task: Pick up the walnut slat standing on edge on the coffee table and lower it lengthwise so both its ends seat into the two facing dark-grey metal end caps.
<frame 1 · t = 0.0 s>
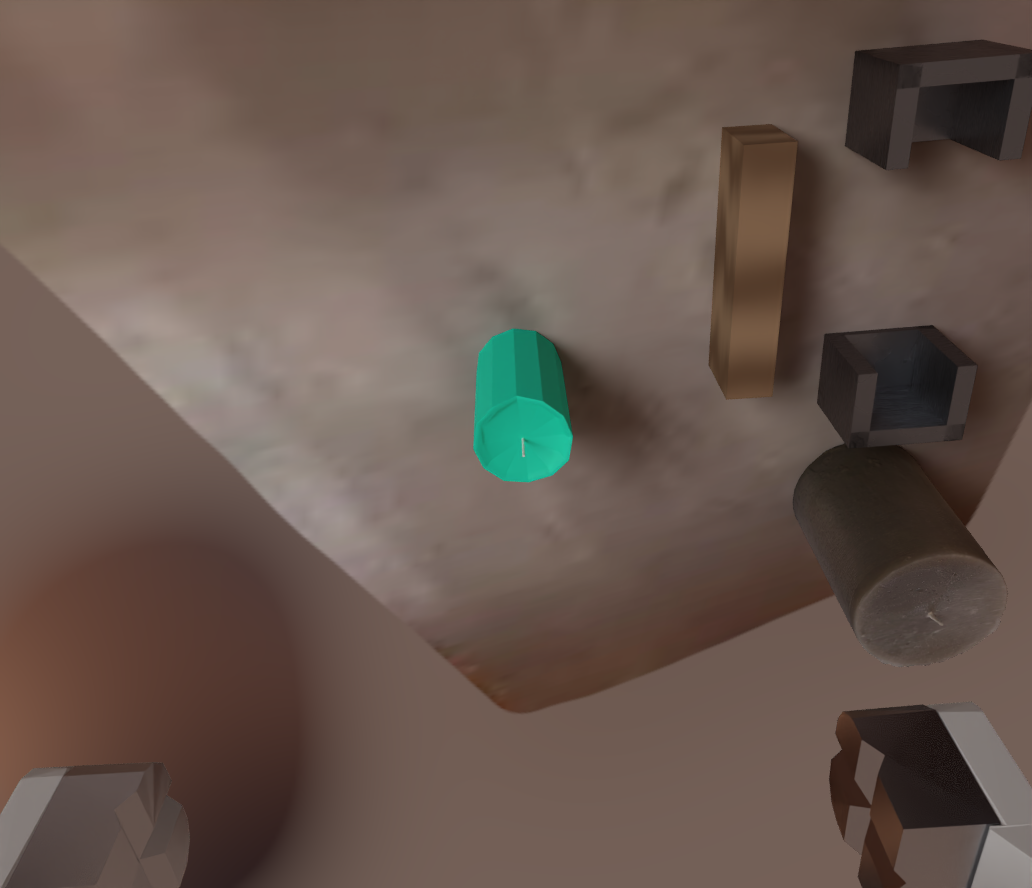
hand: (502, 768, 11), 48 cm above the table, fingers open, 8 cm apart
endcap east: (873, 365, 61), on the table
candle: (518, 366, 61), on the table
pillar candle: (853, 492, 67), on the table
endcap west: (911, 94, 52), on the table
slat: (737, 252, 57), on the table
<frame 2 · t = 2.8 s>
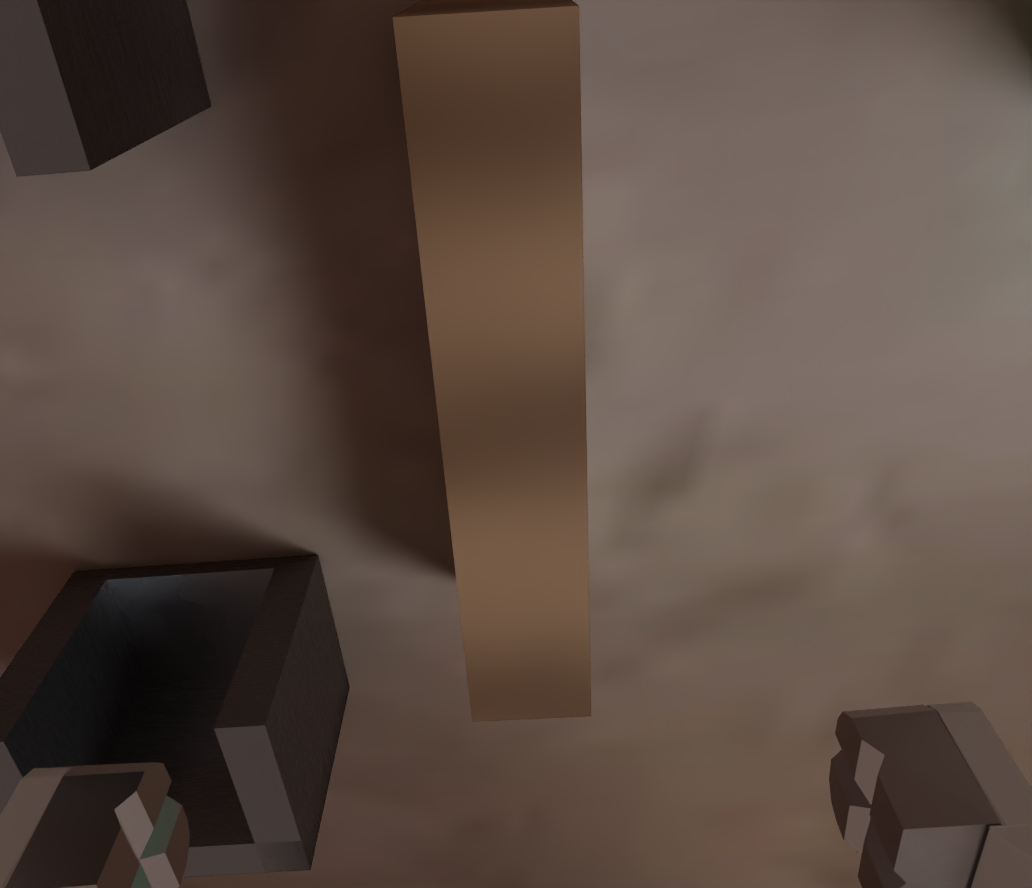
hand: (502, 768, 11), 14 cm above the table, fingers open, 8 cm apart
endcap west: (217, 632, 27), on the table
slat: (512, 339, 23), on the table
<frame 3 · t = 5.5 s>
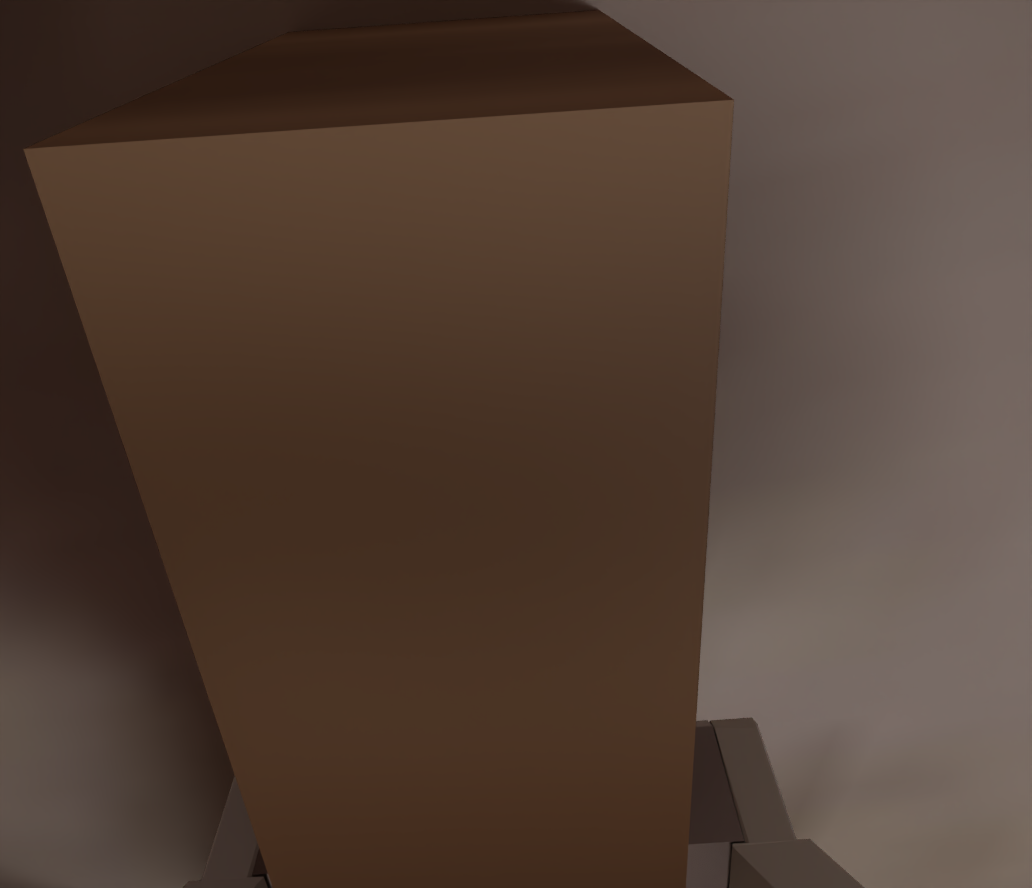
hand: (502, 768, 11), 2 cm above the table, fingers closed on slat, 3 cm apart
slat: (501, 637, 12), on the table, touching gripper
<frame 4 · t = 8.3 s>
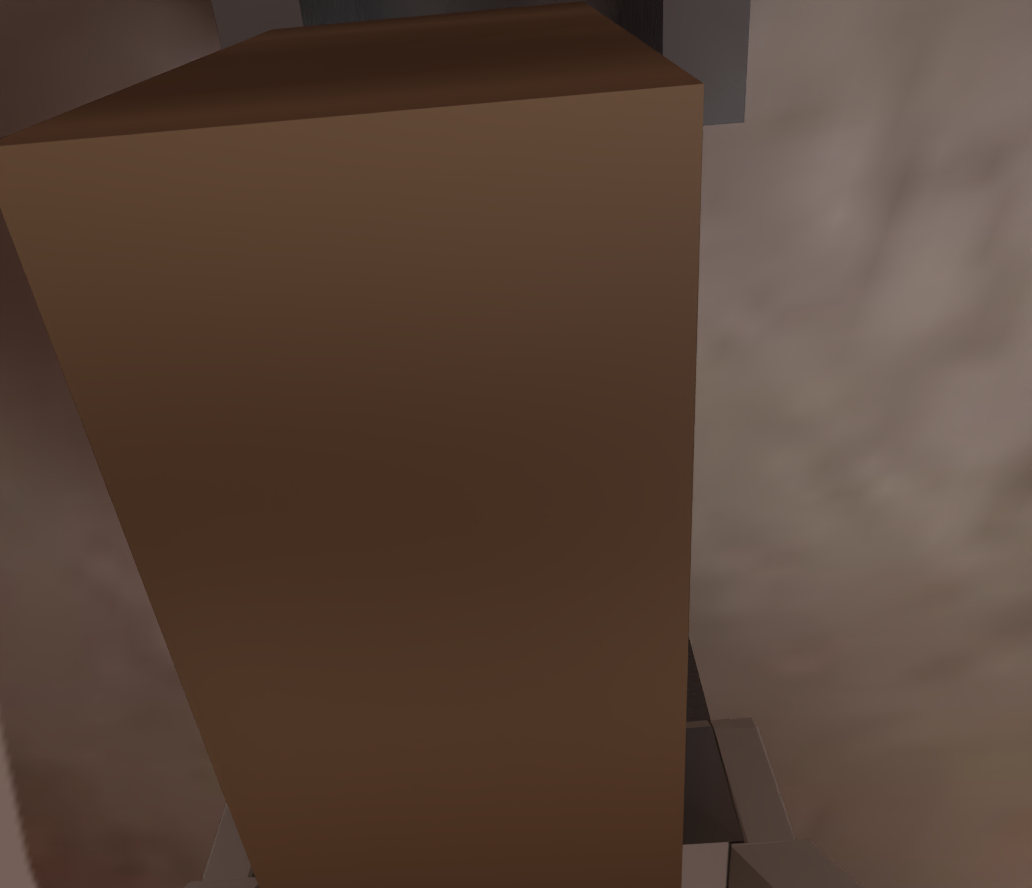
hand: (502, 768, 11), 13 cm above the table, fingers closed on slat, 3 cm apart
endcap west: (541, 627, 26), on the table
slat: (500, 638, 12), point 11 cm above the table, touching gripper
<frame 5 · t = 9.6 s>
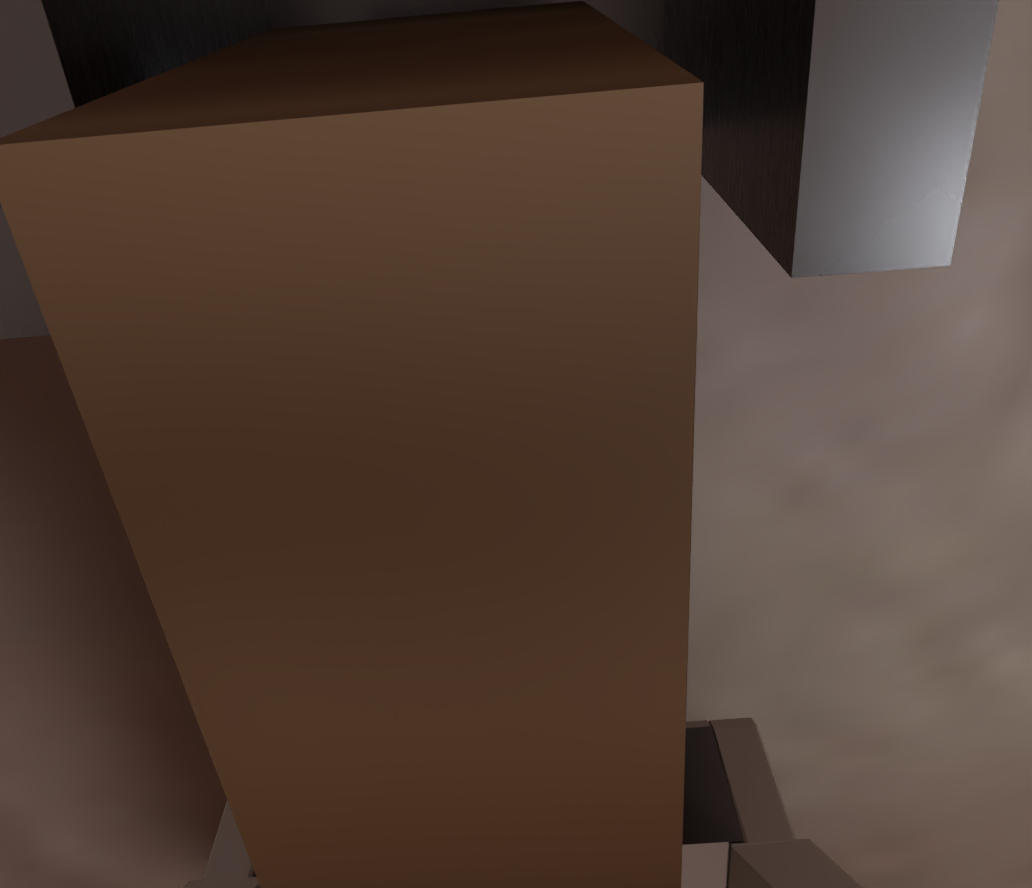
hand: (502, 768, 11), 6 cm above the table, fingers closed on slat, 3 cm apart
slat: (500, 637, 12), point 4 cm above the table, touching gripper
when the fingers open (4 cm above the table, at t = 10.7 s): slat stays where it is, resting on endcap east, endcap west.
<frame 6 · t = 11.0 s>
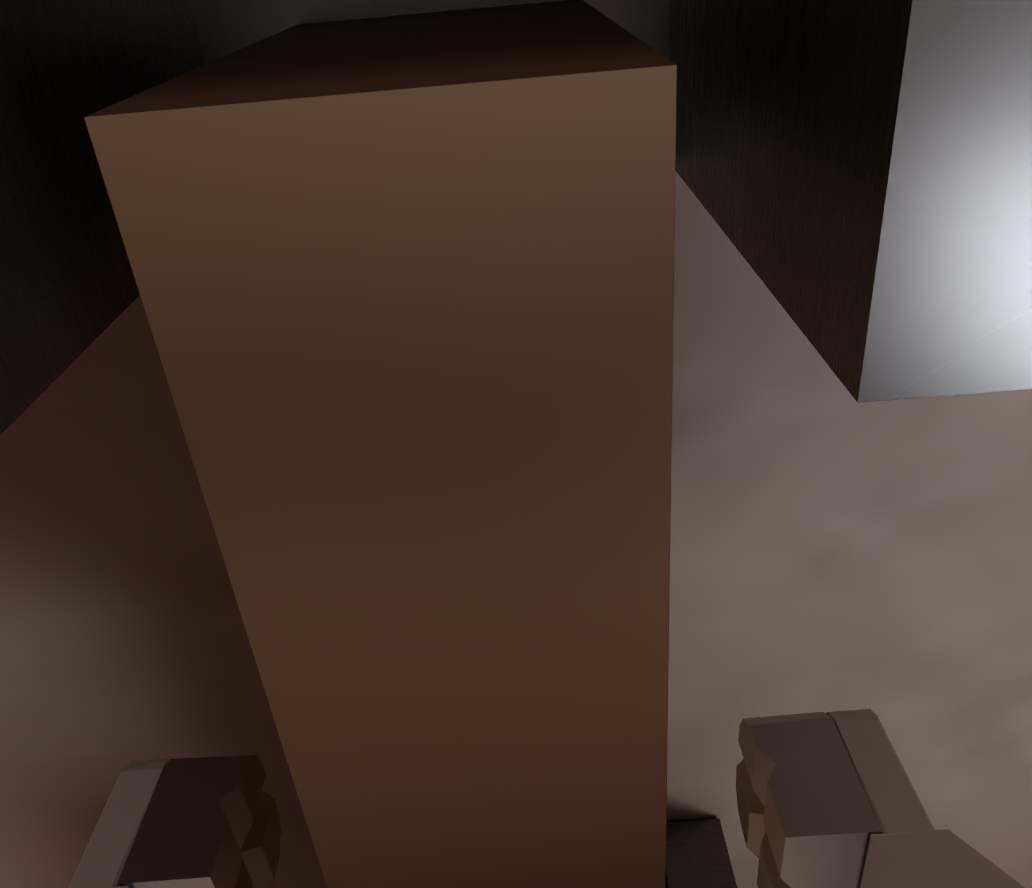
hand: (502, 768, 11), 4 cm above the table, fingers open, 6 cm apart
slat: (503, 597, 13), resting on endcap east, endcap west
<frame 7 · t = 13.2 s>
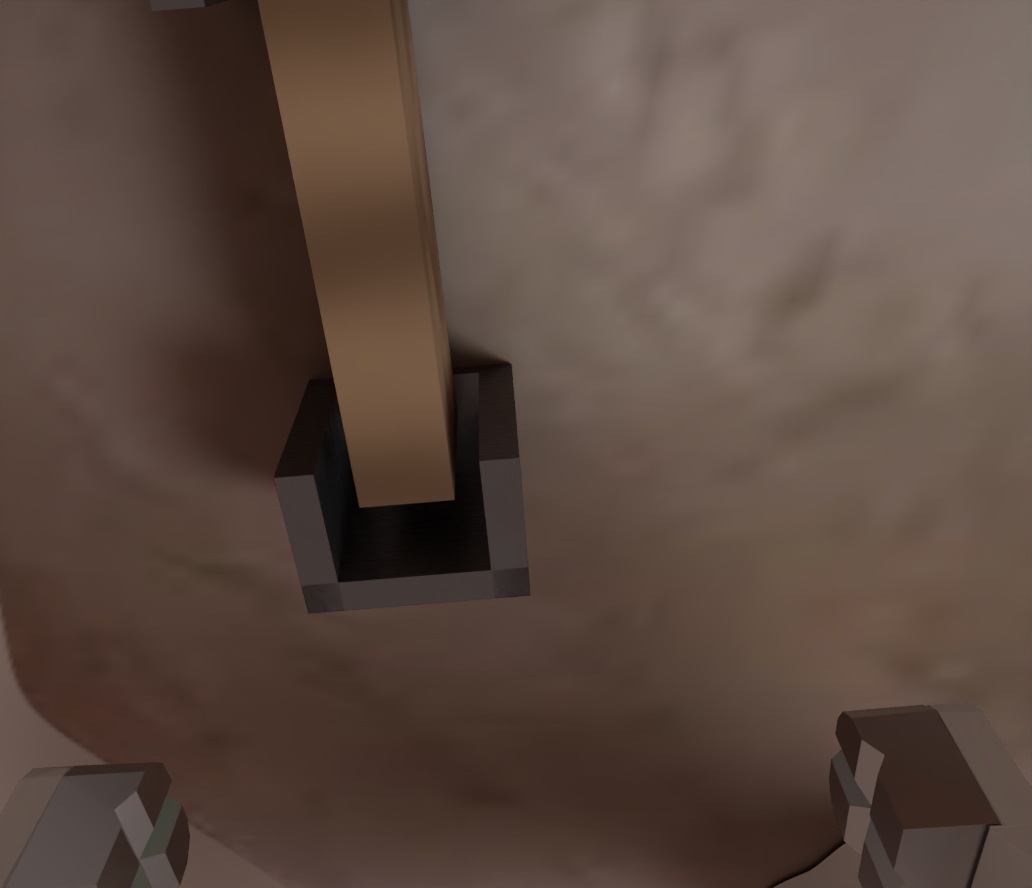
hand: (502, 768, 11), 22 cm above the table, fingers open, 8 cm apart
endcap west: (419, 435, 33), on the table
slat: (385, 202, 28), resting on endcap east, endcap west
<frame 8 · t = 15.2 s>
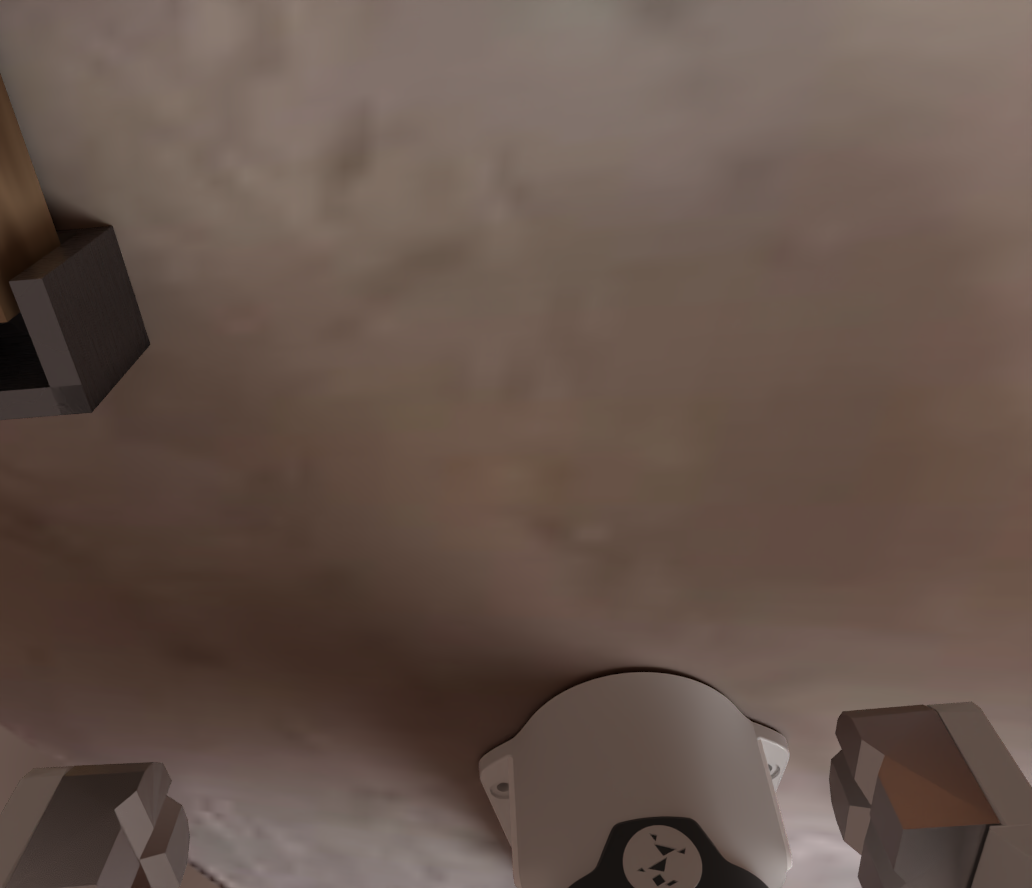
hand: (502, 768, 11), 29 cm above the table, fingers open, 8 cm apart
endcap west: (48, 294, 38), on the table
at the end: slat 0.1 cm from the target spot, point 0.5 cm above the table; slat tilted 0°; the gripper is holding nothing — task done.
